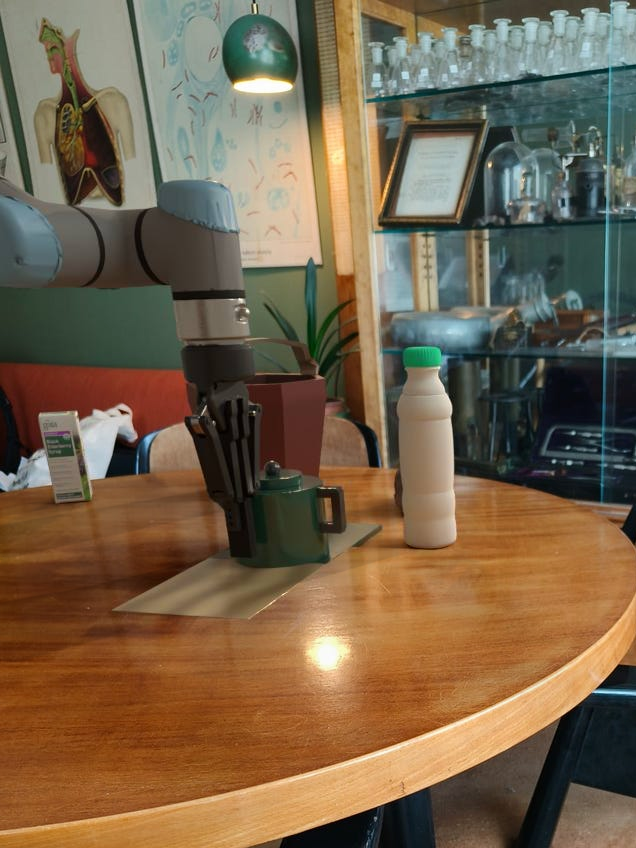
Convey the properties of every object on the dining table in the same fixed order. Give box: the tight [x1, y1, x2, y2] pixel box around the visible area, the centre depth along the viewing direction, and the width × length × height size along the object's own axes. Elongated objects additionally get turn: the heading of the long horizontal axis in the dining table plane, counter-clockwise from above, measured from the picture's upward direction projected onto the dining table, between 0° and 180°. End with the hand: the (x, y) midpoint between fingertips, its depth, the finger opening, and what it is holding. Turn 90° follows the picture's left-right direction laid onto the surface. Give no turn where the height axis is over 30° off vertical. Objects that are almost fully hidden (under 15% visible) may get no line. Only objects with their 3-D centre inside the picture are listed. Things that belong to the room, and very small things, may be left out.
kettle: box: [205, 461, 347, 568], centre depth 110 cm, size 18×12×12 cm, turn 75°
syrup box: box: [37, 410, 94, 505], centre depth 148 cm, size 6×6×14 cm
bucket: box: [185, 337, 327, 478], centre depth 150 cm, size 24×22×25 cm
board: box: [111, 522, 383, 621], centre depth 110 cm, size 16×40×1 cm, turn 166°
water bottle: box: [396, 346, 457, 550], centre depth 114 cm, size 7×7×25 cm
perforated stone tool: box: [393, 467, 403, 512], centre depth 137 cm, size 15×5×7 cm, turn 1°
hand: (244, 555), depth 103 cm, fingers closed
